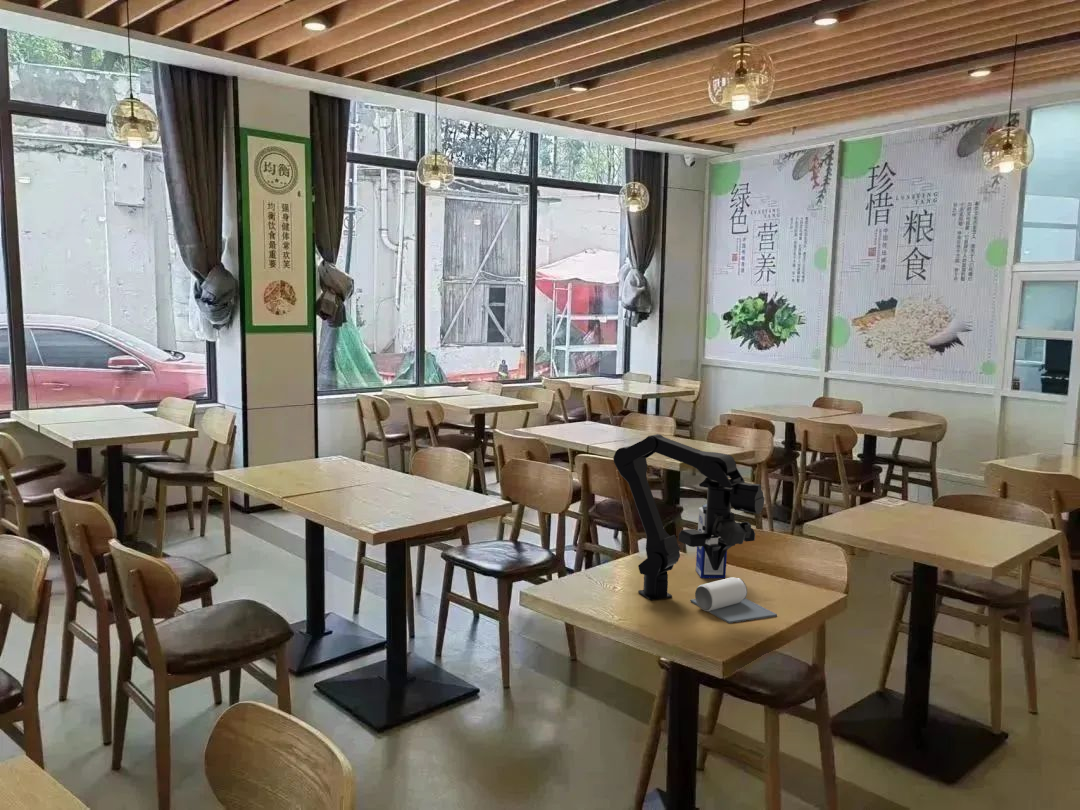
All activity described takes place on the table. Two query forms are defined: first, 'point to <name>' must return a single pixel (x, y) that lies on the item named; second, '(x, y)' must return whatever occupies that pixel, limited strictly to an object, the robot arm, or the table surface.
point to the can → (720, 593)
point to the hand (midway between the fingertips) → (715, 570)
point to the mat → (741, 611)
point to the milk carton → (702, 559)
